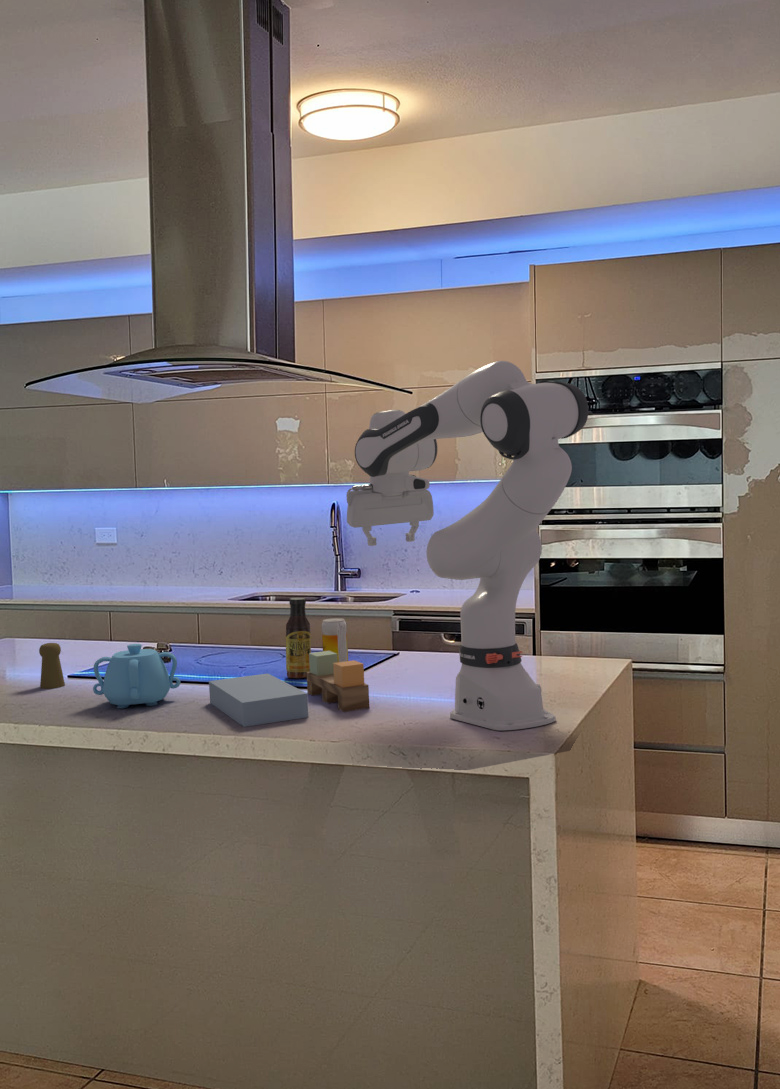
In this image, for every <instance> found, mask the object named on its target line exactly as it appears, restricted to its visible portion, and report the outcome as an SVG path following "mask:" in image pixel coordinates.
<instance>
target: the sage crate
mask: <svg viewBox="0 0 780 1089" xmlns="http://www.w3.org/2000/svg"><path fill="white" fill-rule="evenodd" d="M333 663H338V660H337V654H336V653H334V652H331V651H323V650H322V651H317V652H316V651H315V652H311V653H309V664H310V673H312V674H314V675H317V676H321V675H329V674H334V670H333Z"/></svg>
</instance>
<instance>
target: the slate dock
mask: <svg viewBox="0 0 780 1089" xmlns="http://www.w3.org/2000/svg"><path fill="white" fill-rule="evenodd" d="M208 687H209V688H208V689H209V690H208V691H209V704H211V705H212V706H213V707H215V708H217V709H218V710H219V711H221V712H222V713H224V714H225V715H226V716H228V717H229V718H230V719H232V720H233V721H235V722H236V723H238V724H239V725H240V726H242V727H243V728H246V727H252V726H258V725H264V724H271V723H272V724H273V723H278V722H285V721H291V720H292V721H293V720H297V719H305V718H309V707H308V706H309V705H308V704H309V702H308V701H309V700H308V693H307V692H305V691H303V690H301V689H300V688H297V687H296V686H294V685H291V684H289V683H287V682H285V681H283V679H280V678H278V677H276V676H274V675H272V674H270V673H260V674H255V675H254V674H253V675H245V676H240V677H239V676H238V677H231V678H224V679H215V680H208Z"/></svg>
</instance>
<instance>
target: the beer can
mask: <svg viewBox="0 0 780 1089" xmlns="http://www.w3.org/2000/svg"><path fill="white" fill-rule="evenodd" d="M347 627H348V626H347V623H346V620H345V618H340V617H336V618H335V617H333V618H326V619H322V623H321V640H322V641H321V642H322V651H331V652H334V653H336V654H337V660H338V662H345V661H349V649H348V647H349V646H348V632H347V631H348V630H347V629H348V628H347Z"/></svg>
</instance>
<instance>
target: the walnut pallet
mask: <svg viewBox="0 0 780 1089" xmlns="http://www.w3.org/2000/svg"><path fill="white" fill-rule="evenodd" d="M306 674H307V678H306V689H307V690H306V691H307V692H306V693H307V695H310V696H319V695H321V697H322V698H321V700H322V702H324V703H326V704H333V703H337V707H338V710H339V711H341V712H344V713H345V712H352V711H359V710H364V709H370V690H369V688H370V687H369V684H368V683H365V682H364V685H357V686H350V687H341V686H339V685H336V684H334V674H329V675H321V676H317V675H314V674H312V673H310V672H306Z"/></svg>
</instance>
